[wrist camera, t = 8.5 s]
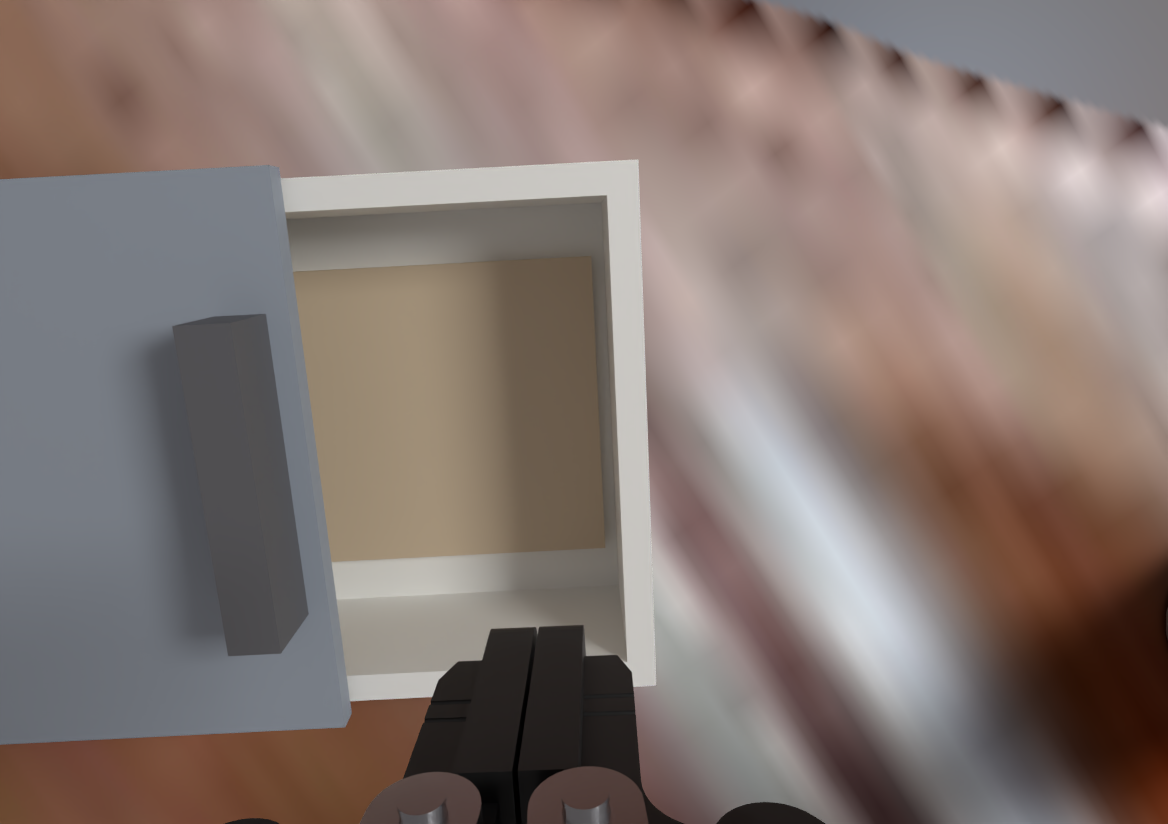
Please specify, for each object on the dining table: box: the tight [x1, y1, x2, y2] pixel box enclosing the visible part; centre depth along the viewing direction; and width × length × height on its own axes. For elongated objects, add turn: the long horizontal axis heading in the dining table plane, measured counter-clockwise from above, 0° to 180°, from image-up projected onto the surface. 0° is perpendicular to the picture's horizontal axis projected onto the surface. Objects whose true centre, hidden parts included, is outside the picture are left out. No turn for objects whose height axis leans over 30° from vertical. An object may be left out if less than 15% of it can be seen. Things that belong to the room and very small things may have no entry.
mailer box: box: [281, 160, 656, 701], centre depth 29 cm, size 20×18×7 cm
